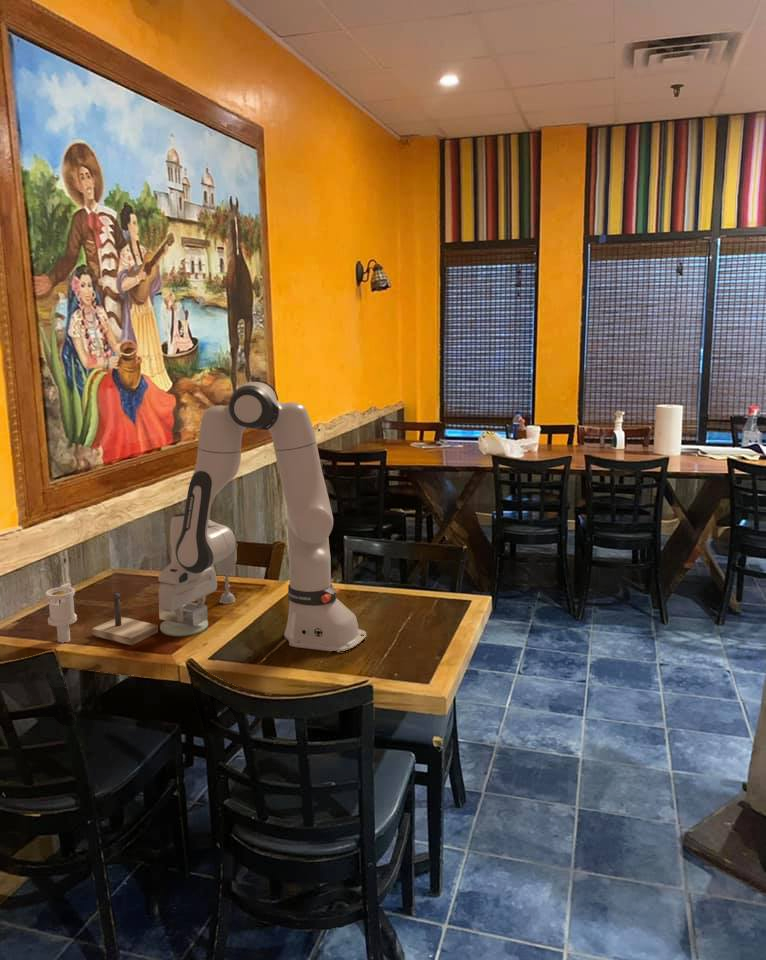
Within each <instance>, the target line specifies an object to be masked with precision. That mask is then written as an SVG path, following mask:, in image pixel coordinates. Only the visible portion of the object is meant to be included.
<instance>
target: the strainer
mask: <svg viewBox="0 0 766 960" xmlns="http://www.w3.org/2000/svg"><path fill="white" fill-rule="evenodd" d="M59 592H65V593H64V594H56V595H55V593H59ZM53 594H54V595H53ZM75 595H76V589H75V588H74V587H72V583H69V582H66V583H64V584H61V585H60V586H59V587H53V588H50V589H49V590H47V591H46V592H45V598H46V599H47V600H48V608H49V609H48V611H49V617H48V618H47V623H48V625H49V626H51V627H52V626H53V627H56V632H57V633H56V635H57V643H59V642H61V643H60V644H65V643H64V642H66V643H69V642H70V641H71V632H70V629H71V628H70V625H72V624H74V623H75V622H77V620H78V615H77V614H76V613H75V605H74V604H75V603H74V596H75Z"/></svg>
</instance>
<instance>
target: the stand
mask: <svg viewBox="0 0 766 960" xmlns="http://www.w3.org/2000/svg"><path fill="white" fill-rule="evenodd" d="M112 599H113V610H114V613H113V614H114V618H113V619H111V620H108V621H105V622H104V623H100V624H99V625H97V626H95V627H93V628H91V631H92V632H91V633H92V636H94V637H97V638H101V639H106V640H108V641H109V640H110V641H113V642H117V643H121V644H126V645H129V646H133V645H135V644H137V643H140V642H142V640H145V639H147V638H149V637H151V636H153V635H155V634H157V633H158V632H159V625H158V624H154V623H151V622H147V621H142V620H137V619H133V618H128V617H124V616H122V613H121V594H120V593H119V592H115V593H114V594H113V595H112Z"/></svg>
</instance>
